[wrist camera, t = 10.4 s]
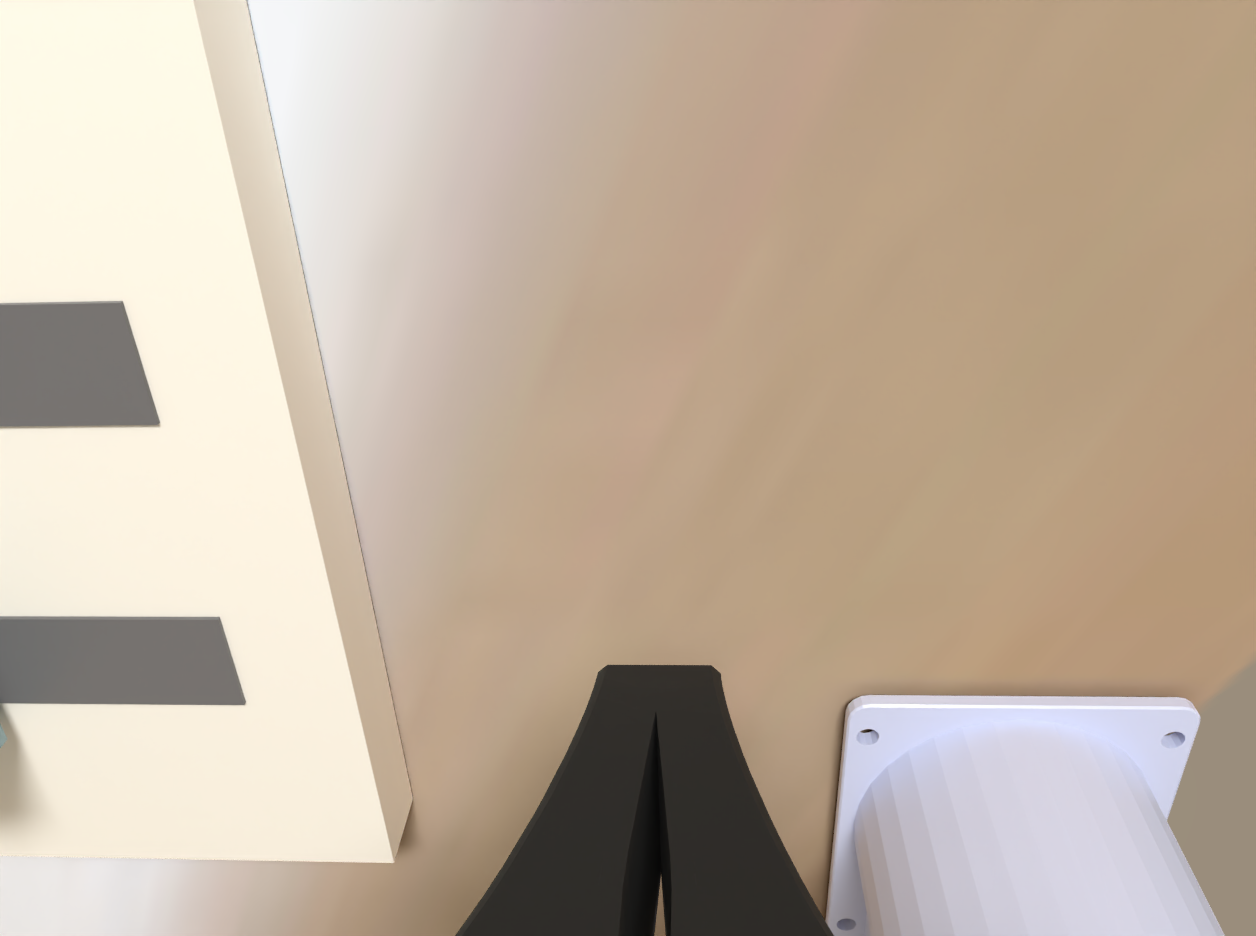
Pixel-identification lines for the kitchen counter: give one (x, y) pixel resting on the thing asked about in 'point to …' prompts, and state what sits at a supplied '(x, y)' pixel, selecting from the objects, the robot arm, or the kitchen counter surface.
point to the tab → (2, 736)
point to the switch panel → (171, 466)
